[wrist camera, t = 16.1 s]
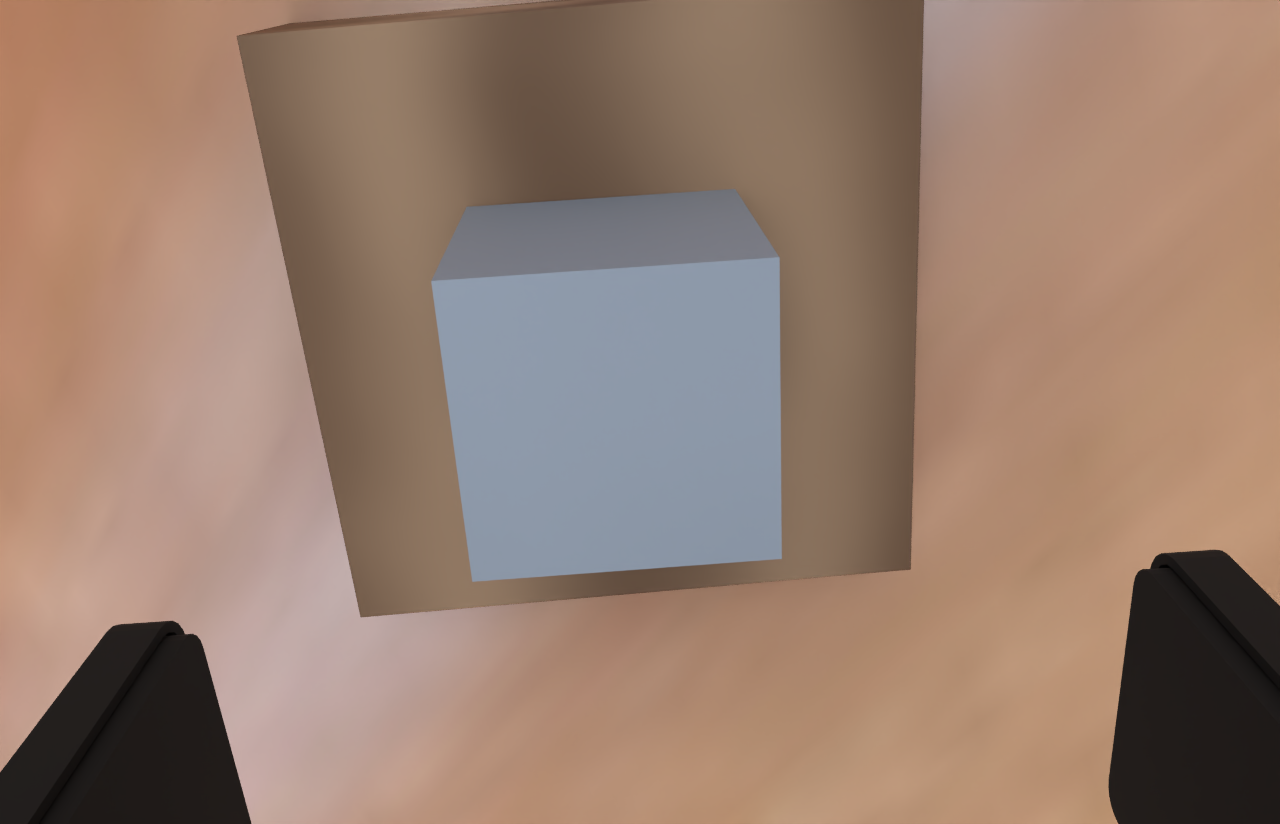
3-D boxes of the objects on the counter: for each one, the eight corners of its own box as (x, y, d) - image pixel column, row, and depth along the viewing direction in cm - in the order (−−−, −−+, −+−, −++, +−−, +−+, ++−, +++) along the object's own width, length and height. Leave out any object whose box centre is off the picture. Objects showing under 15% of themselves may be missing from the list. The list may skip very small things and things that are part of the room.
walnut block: (870, -28, 22) (924, -23, 19) (868, 485, 27) (910, 569, 24) (295, 22, 22) (236, 36, 19) (392, 527, 27) (360, 617, 24)
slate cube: (735, 189, 20) (779, 257, 16) (740, 433, 22) (781, 559, 17) (466, 206, 20) (431, 281, 15) (495, 451, 22) (471, 581, 17)
